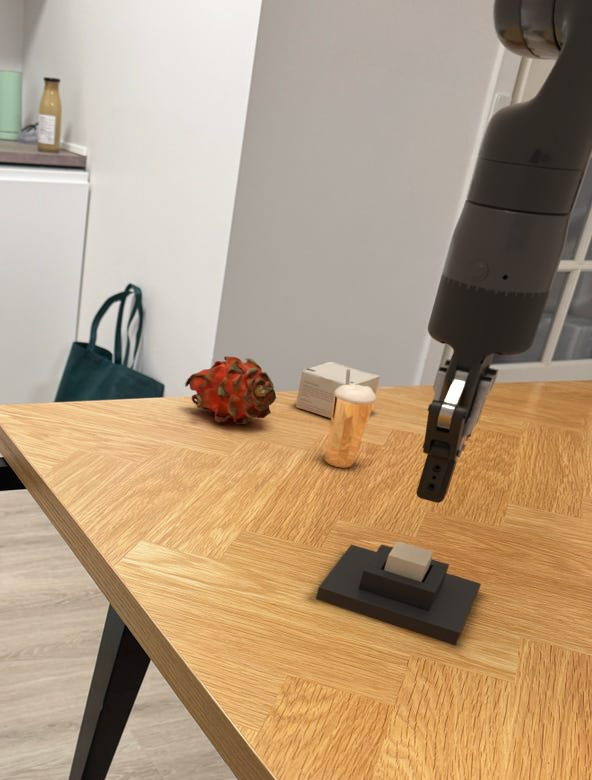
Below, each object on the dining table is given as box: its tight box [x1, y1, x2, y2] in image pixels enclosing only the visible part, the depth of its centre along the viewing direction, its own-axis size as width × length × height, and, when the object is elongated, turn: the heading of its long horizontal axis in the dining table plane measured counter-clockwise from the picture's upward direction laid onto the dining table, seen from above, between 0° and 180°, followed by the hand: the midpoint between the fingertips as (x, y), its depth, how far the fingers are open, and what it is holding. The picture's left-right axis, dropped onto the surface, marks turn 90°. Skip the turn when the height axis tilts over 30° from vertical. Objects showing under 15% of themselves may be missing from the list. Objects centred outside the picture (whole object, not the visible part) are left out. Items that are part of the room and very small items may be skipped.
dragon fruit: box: [183, 355, 277, 425], centre depth 112 cm, size 8×8×12 cm
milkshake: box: [324, 369, 377, 469], centre depth 102 cm, size 4×5×10 cm
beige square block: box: [384, 541, 434, 582], centre depth 77 cm, size 3×3×2 cm
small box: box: [295, 361, 381, 419], centre depth 119 cm, size 8×8×5 cm
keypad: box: [315, 544, 482, 646], centre depth 78 cm, size 12×10×3 cm
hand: (430, 497), depth 73 cm, fingers closed
